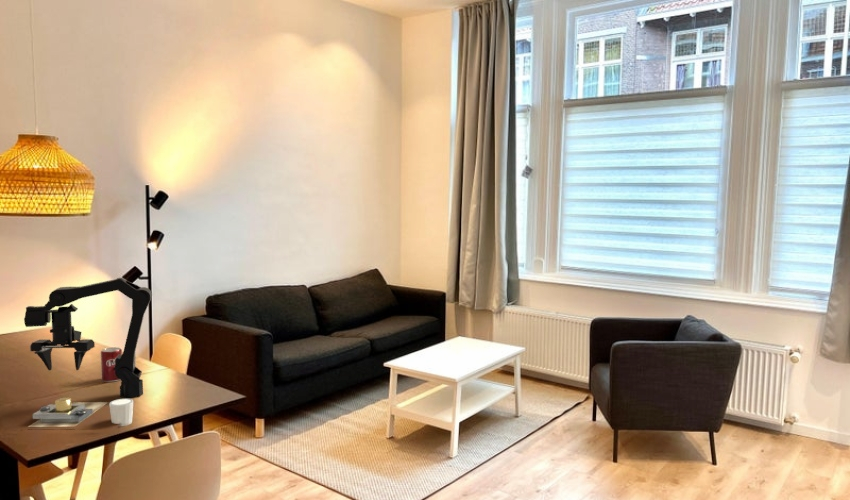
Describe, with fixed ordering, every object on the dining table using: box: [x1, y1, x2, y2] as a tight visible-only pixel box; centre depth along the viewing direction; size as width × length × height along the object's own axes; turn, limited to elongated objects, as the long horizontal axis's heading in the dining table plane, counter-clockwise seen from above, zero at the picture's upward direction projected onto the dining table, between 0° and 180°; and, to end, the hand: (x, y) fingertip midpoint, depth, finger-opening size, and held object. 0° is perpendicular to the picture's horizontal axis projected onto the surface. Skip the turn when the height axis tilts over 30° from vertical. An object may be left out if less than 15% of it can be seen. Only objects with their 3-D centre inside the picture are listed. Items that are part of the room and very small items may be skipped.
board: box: [27, 401, 109, 431], centre depth 198 cm, size 14×22×1 cm, turn 2°
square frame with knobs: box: [32, 403, 94, 424], centre depth 194 cm, size 14×9×4 cm, turn 92°
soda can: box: [100, 346, 123, 383], centre depth 237 cm, size 7×7×12 cm
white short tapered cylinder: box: [108, 398, 134, 427], centre depth 193 cm, size 7×7×7 cm
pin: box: [54, 397, 72, 413], centre depth 194 cm, size 4×4×6 cm
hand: (63, 370), depth 209 cm, fingers open, 9 cm apart
